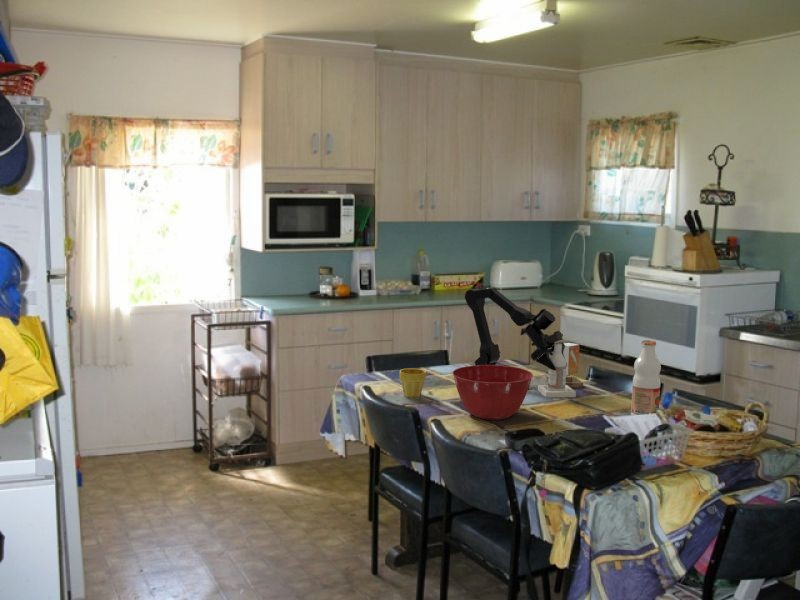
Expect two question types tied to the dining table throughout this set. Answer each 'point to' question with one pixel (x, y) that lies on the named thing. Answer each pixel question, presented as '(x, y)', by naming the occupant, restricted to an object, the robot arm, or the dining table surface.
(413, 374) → the plant pot
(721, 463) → the dining table surface
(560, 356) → the bath foam
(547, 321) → the robot arm
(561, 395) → the white square tray
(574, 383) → the walnut collar
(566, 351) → the small box
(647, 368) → the fruit juice
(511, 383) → the mixing bowl
